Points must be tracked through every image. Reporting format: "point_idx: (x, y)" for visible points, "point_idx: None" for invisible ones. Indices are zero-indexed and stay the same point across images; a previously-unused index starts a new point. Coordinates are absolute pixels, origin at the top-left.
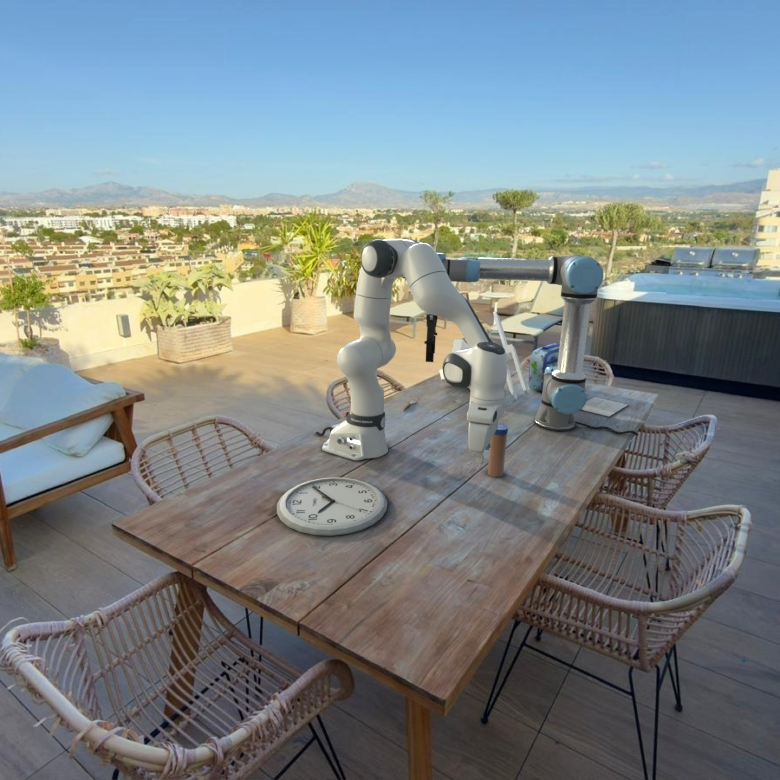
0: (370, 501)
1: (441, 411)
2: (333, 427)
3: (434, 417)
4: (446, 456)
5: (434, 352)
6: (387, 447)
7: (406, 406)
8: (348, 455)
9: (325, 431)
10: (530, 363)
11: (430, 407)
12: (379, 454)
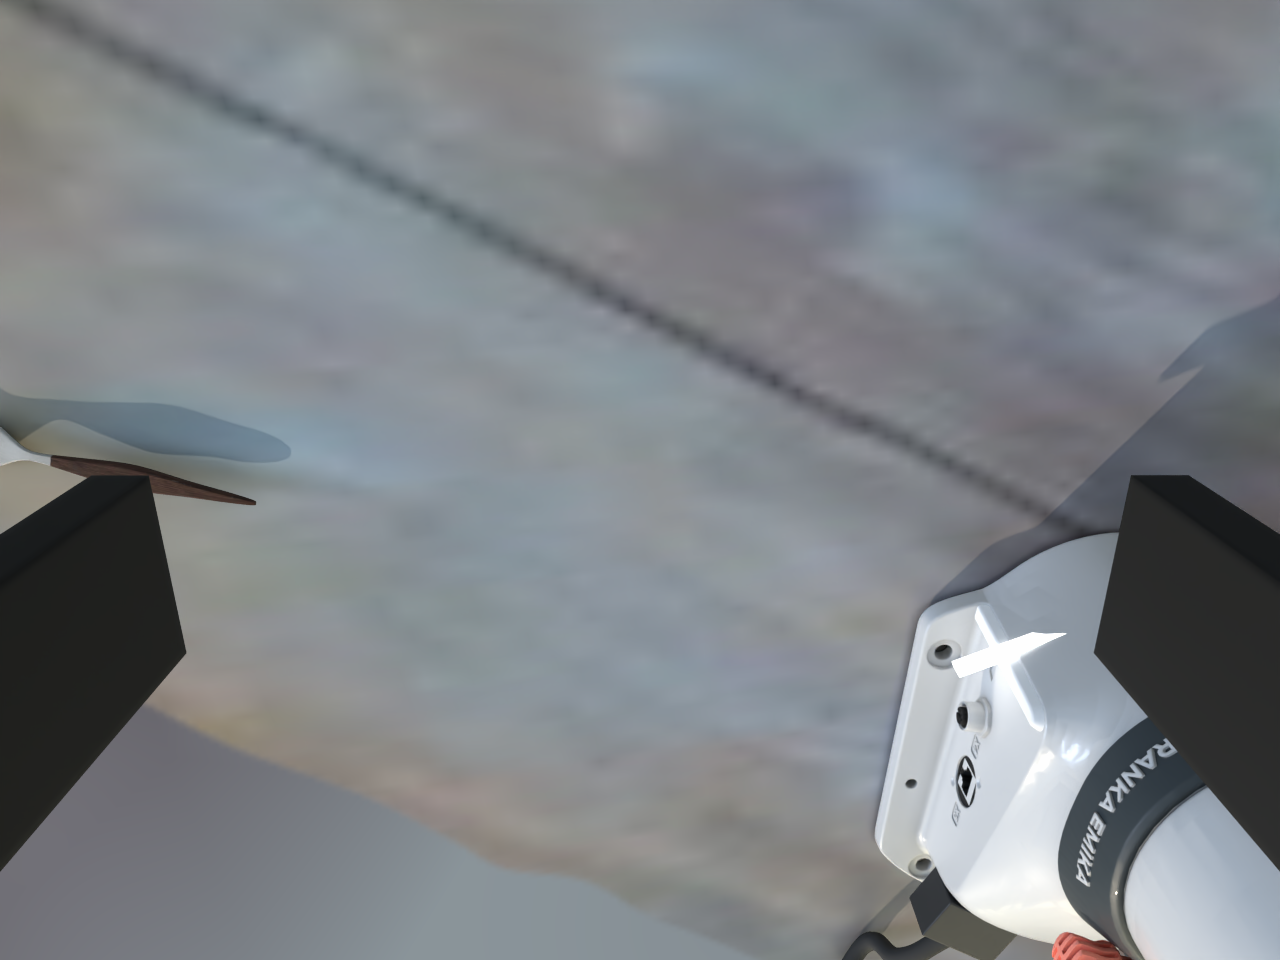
0: None
1: (117, 144)
2: (1004, 943)
3: (316, 211)
4: (1241, 68)
5: (136, 492)
6: (1110, 544)
7: (152, 491)
8: None
9: (888, 944)
10: None
11: (39, 264)
12: None
